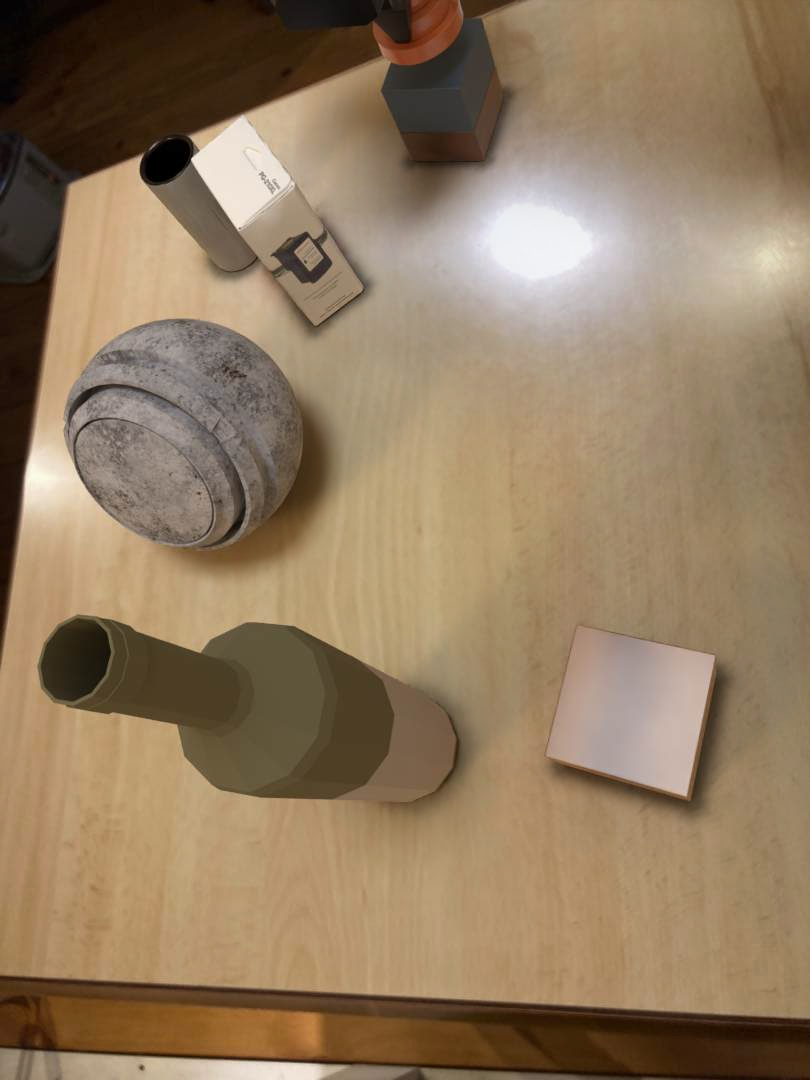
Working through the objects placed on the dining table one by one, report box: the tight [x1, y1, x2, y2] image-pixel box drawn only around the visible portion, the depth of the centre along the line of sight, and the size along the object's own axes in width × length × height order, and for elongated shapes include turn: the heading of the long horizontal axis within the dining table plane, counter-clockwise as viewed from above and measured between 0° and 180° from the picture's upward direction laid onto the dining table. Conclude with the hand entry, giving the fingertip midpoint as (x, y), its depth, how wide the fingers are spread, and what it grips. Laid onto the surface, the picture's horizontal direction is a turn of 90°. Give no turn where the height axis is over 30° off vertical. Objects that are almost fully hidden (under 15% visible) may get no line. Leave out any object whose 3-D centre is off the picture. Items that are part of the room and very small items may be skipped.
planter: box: [138, 132, 258, 272], centre depth 64 cm, size 4×4×10 cm
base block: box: [399, 65, 505, 162], centre depth 63 cm, size 6×6×3 cm
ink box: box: [191, 114, 364, 327], centre depth 60 cm, size 8×5×12 cm, turn 31°
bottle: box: [37, 613, 458, 803], centre depth 37 cm, size 7×7×30 cm
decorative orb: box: [62, 318, 304, 552], centre depth 54 cm, size 15×14×15 cm
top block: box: [380, 17, 496, 133], centre depth 60 cm, size 6×6×4 cm
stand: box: [544, 624, 717, 802], centre depth 44 cm, size 7×7×6 cm
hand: (414, 10), depth 55 cm, fingers closed on cone, 5 cm apart
